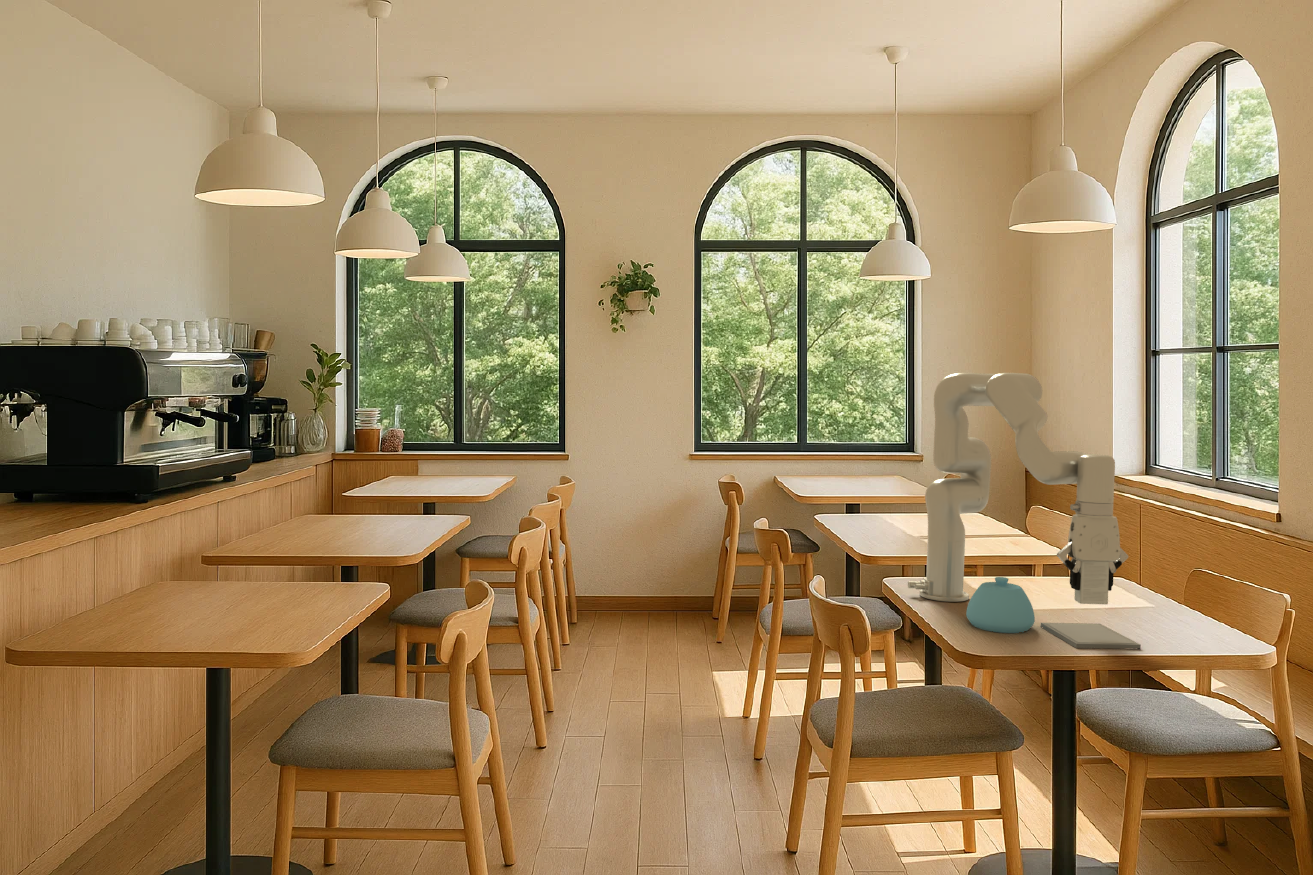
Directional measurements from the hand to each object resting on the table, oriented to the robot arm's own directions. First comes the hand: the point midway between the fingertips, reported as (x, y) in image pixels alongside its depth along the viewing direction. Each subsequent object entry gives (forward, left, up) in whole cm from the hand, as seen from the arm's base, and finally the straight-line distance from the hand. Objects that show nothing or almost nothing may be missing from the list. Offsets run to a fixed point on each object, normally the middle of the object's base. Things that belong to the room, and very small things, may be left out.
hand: (1091, 588), depth 210 cm
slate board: (0, 0, -11) cm, 11 cm away
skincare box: (0, 0, -3) cm, 3 cm away
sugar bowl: (-17, +9, -12) cm, 22 cm away
